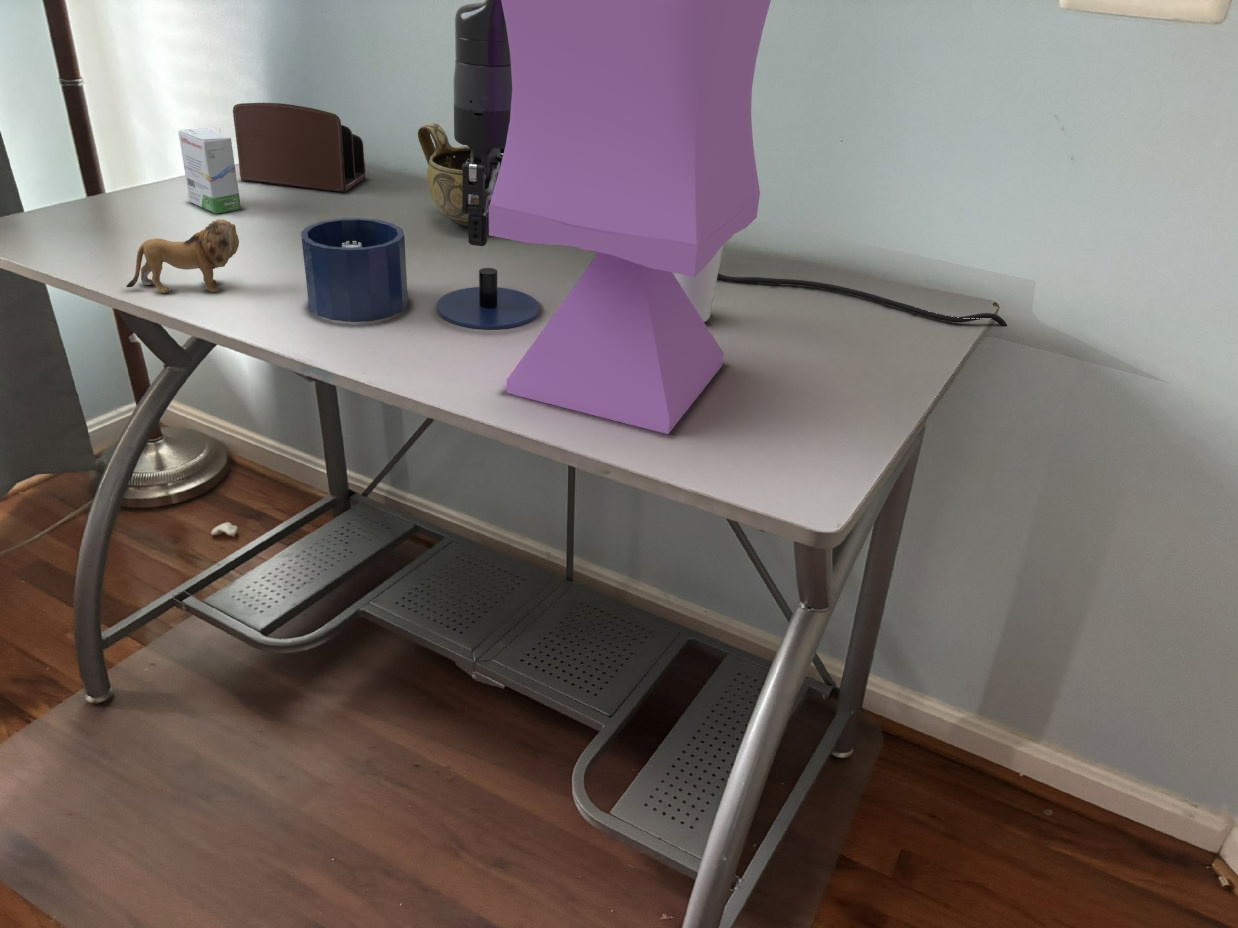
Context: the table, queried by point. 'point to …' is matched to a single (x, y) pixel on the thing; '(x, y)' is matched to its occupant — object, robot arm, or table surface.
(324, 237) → the pot
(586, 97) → the purple table lamp
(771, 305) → the table surface
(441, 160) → the ceramic bowl
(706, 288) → the drinking glass
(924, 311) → the robot arm
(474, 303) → the lid
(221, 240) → the lion figurine
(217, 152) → the ink box
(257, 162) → the letter holder
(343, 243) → the rook chess piece
